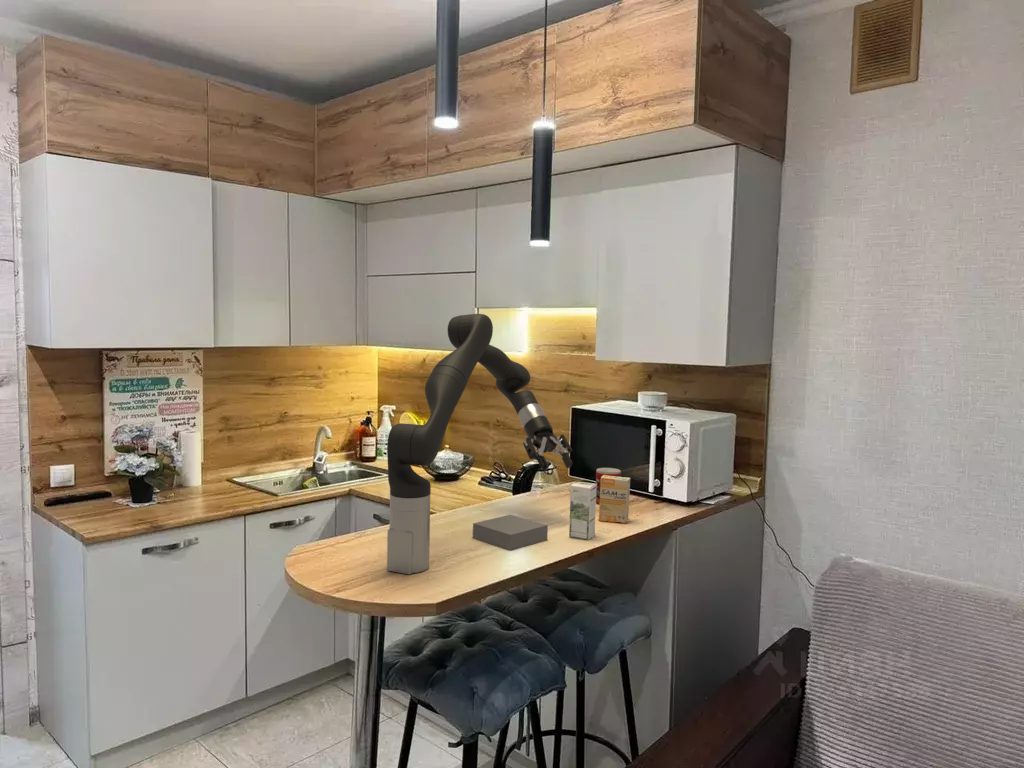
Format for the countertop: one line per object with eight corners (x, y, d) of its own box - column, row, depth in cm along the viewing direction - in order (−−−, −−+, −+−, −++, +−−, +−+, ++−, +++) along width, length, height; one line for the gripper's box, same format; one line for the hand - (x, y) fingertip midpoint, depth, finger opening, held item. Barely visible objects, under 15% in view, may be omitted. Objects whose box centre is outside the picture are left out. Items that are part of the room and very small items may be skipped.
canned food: (591, 500, 235) (592, 467, 234) (614, 500, 237) (615, 467, 236) (599, 506, 227) (601, 472, 227) (623, 505, 229) (624, 472, 229)
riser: (510, 550, 180) (510, 534, 179) (472, 538, 189) (473, 523, 189) (547, 539, 190) (547, 525, 189) (509, 528, 199) (510, 514, 199)
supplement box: (598, 521, 210) (599, 477, 209) (601, 517, 214) (603, 474, 213) (626, 524, 207) (627, 479, 206) (628, 520, 212) (630, 476, 211)
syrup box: (595, 535, 195) (597, 482, 194) (588, 540, 190) (590, 487, 189) (575, 532, 198) (577, 480, 197) (568, 537, 192) (570, 484, 191)
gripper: (521, 415, 203) (544, 462, 195) (559, 413, 211) (584, 458, 203) (509, 431, 208) (532, 477, 199) (548, 428, 216) (571, 473, 208)
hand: (558, 467), depth 201 cm, fingers open, 8 cm apart
